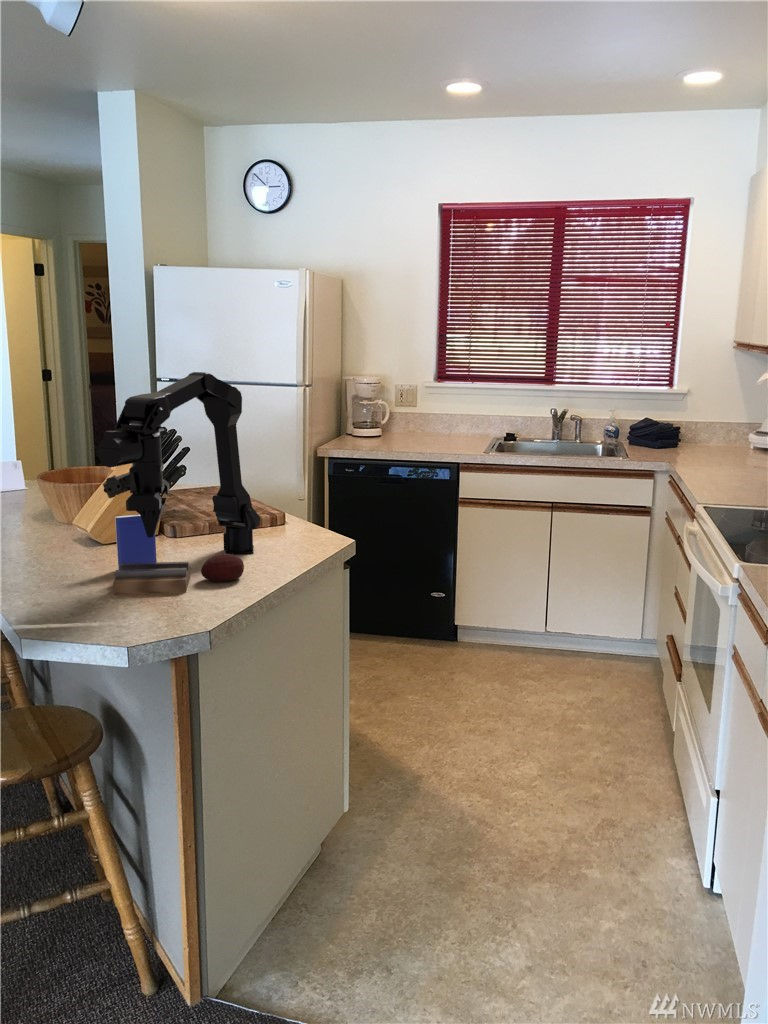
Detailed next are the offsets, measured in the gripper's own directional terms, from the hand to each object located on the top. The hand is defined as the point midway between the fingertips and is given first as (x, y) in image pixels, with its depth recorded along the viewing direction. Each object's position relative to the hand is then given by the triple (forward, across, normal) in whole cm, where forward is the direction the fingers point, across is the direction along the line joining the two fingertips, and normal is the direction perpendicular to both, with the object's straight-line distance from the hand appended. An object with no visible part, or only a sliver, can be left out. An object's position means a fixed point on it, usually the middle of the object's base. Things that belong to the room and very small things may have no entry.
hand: (151, 535), depth 162 cm
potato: (+11, -3, +14) cm, 18 cm away
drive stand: (+11, 0, 0) cm, 11 cm away
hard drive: (+11, -13, -5) cm, 18 cm away
